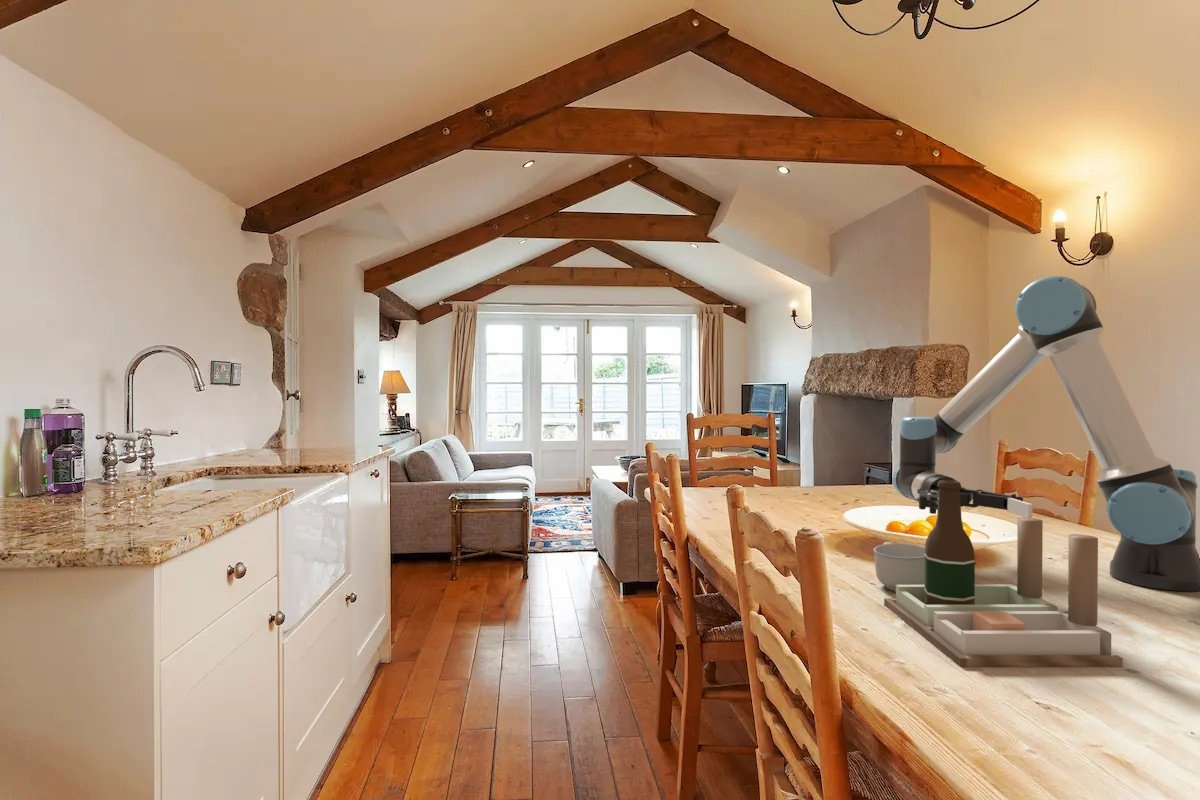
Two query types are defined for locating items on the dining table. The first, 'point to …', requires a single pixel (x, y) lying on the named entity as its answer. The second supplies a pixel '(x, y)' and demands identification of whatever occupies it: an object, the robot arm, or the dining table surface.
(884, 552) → the teacup
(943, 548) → the beer bottle
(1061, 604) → the dining table surface
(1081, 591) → the tray
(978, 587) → the bottle sled
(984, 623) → the terracotta cube
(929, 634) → the lane rails
